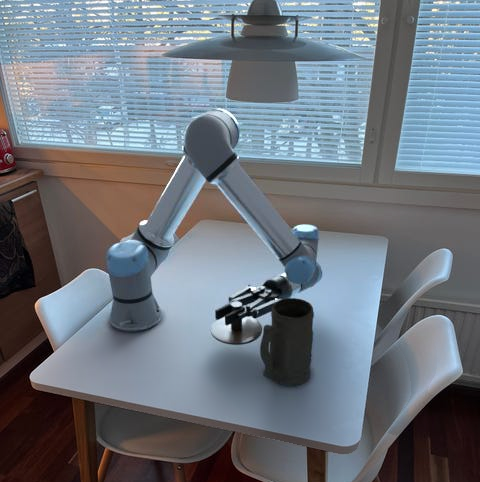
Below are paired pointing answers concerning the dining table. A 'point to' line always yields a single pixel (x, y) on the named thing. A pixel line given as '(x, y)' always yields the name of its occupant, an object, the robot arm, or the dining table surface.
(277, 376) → the beer stein
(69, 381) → the dining table surface
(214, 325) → the lid
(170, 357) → the dining table surface
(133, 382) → the dining table surface
